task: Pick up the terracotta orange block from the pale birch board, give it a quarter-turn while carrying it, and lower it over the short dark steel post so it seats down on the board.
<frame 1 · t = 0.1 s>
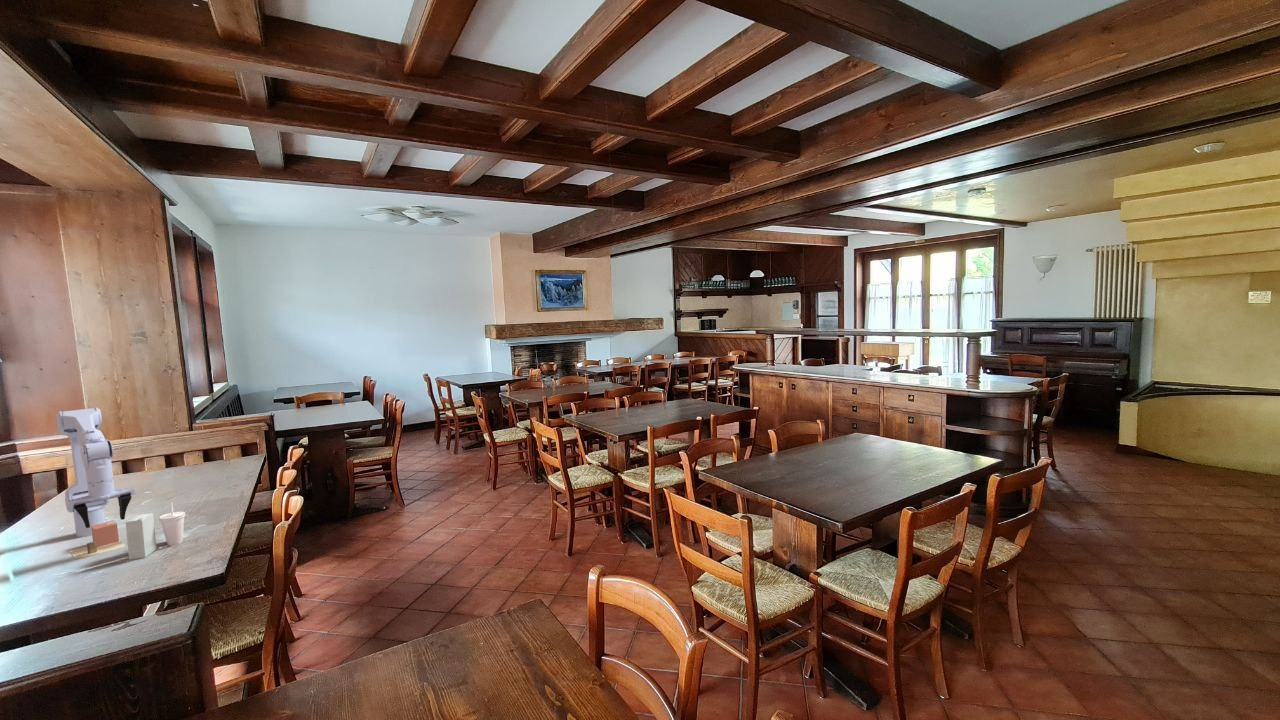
hand: (105, 522, 162), 10 cm above the table, fingers open, 7 cm apart
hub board: (97, 550, 166), on the table
smoothie: (175, 544, 169), on the table
terracotta orange block: (106, 542, 170), point 1 cm above the table, touching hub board
skincare box: (143, 555, 162), on the table
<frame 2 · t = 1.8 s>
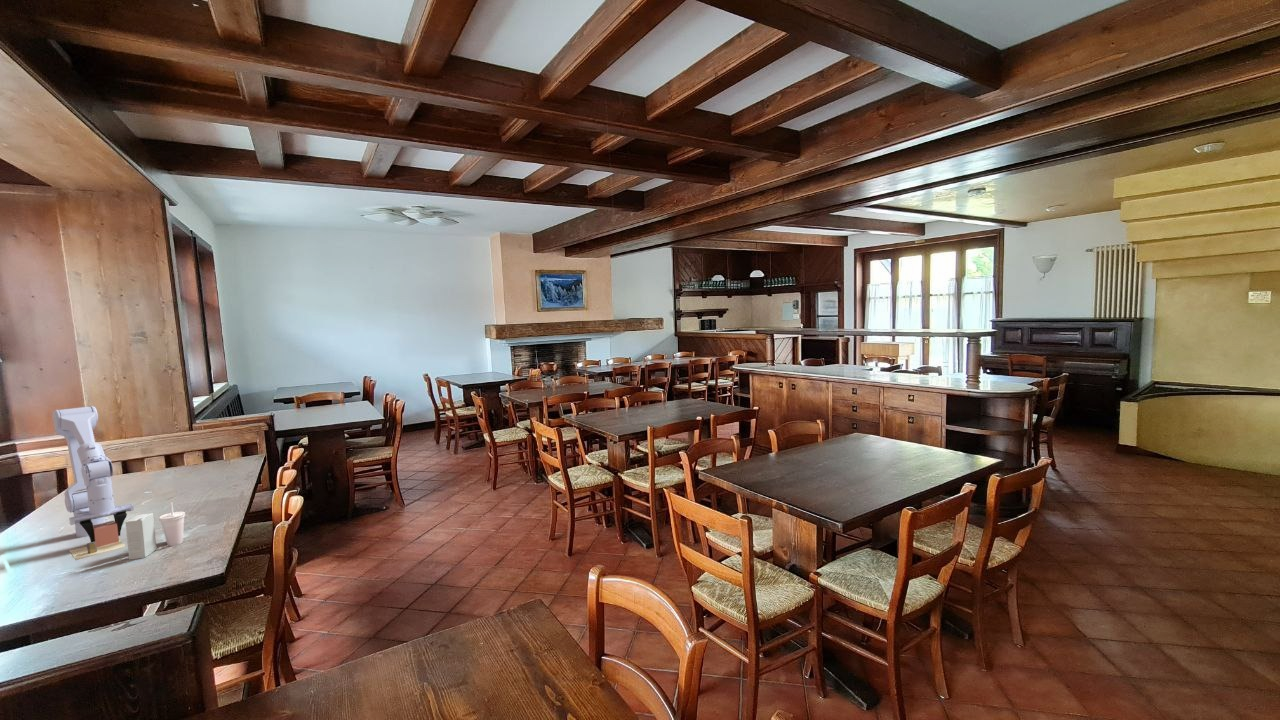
hand: (105, 538, 170), 2 cm above the table, fingers closed on terracotta orange block, 5 cm apart
terracotta orange block: (106, 542, 170), point 1 cm above the table, touching gripper, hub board
everything else where it was.
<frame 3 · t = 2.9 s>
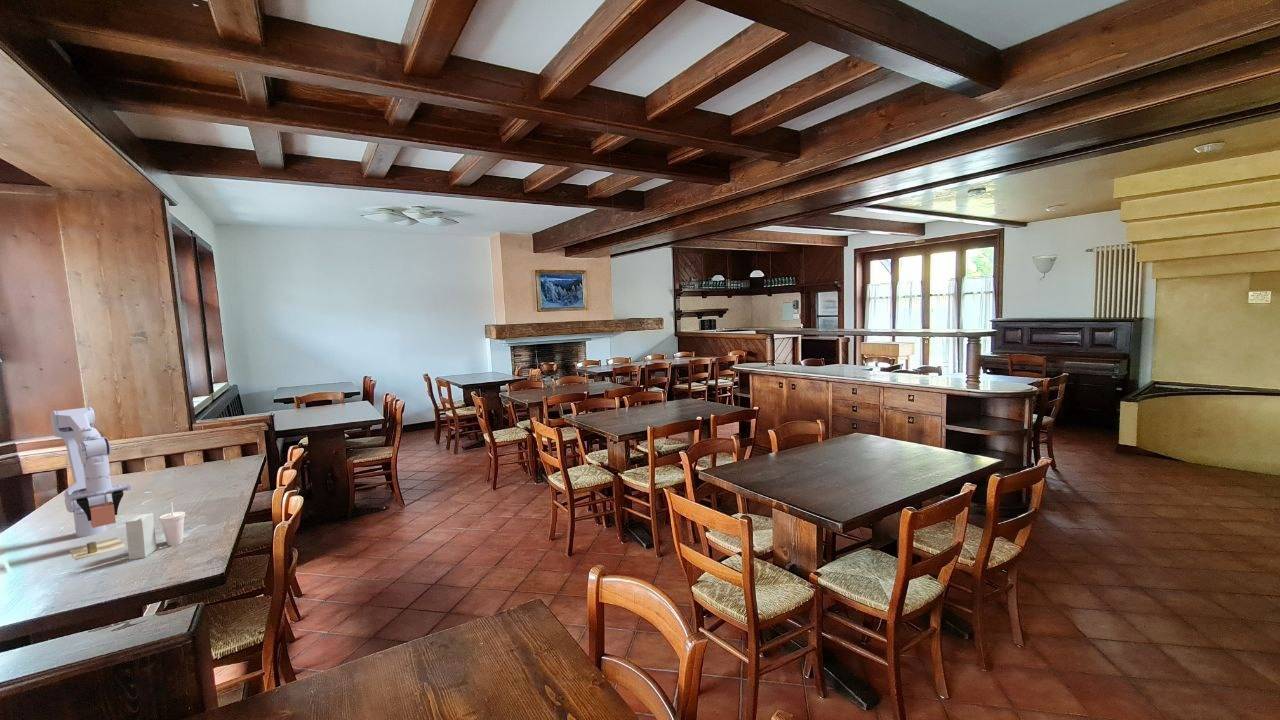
hand: (102, 517, 169), 9 cm above the table, fingers closed on terracotta orange block, 5 cm apart
terracotta orange block: (103, 523, 169), point 7 cm above the table, touching gripper
everything else where it was.
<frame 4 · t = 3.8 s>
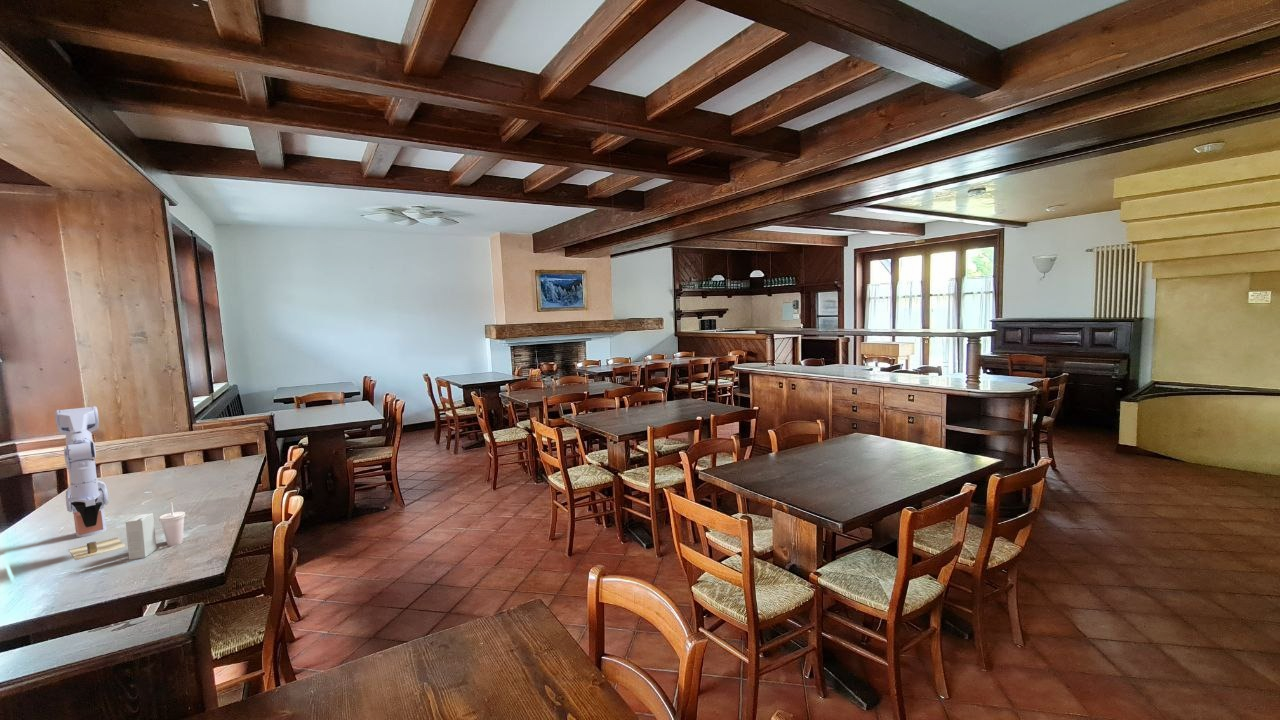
hand: (89, 524, 162), 10 cm above the table, fingers closed on terracotta orange block, 5 cm apart
terracotta orange block: (89, 530, 162), point 8 cm above the table, touching gripper
everything else where it was.
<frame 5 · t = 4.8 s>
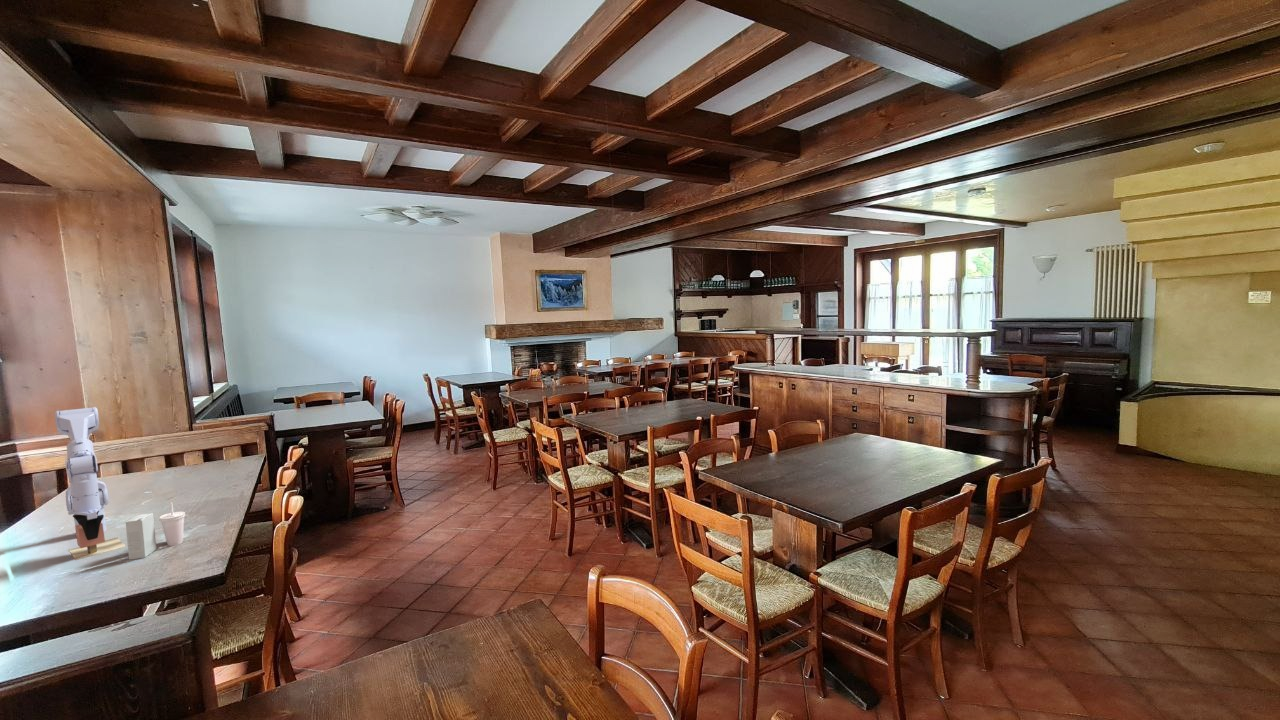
hand: (90, 536, 162), 6 cm above the table, fingers closed on terracotta orange block, 5 cm apart
terracotta orange block: (91, 543, 162), point 4 cm above the table, touching gripper
everything else where it was.
when the fingers open (3 cm above the table, at t = 5.8 s): terracotta orange block stays where it is, resting on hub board.
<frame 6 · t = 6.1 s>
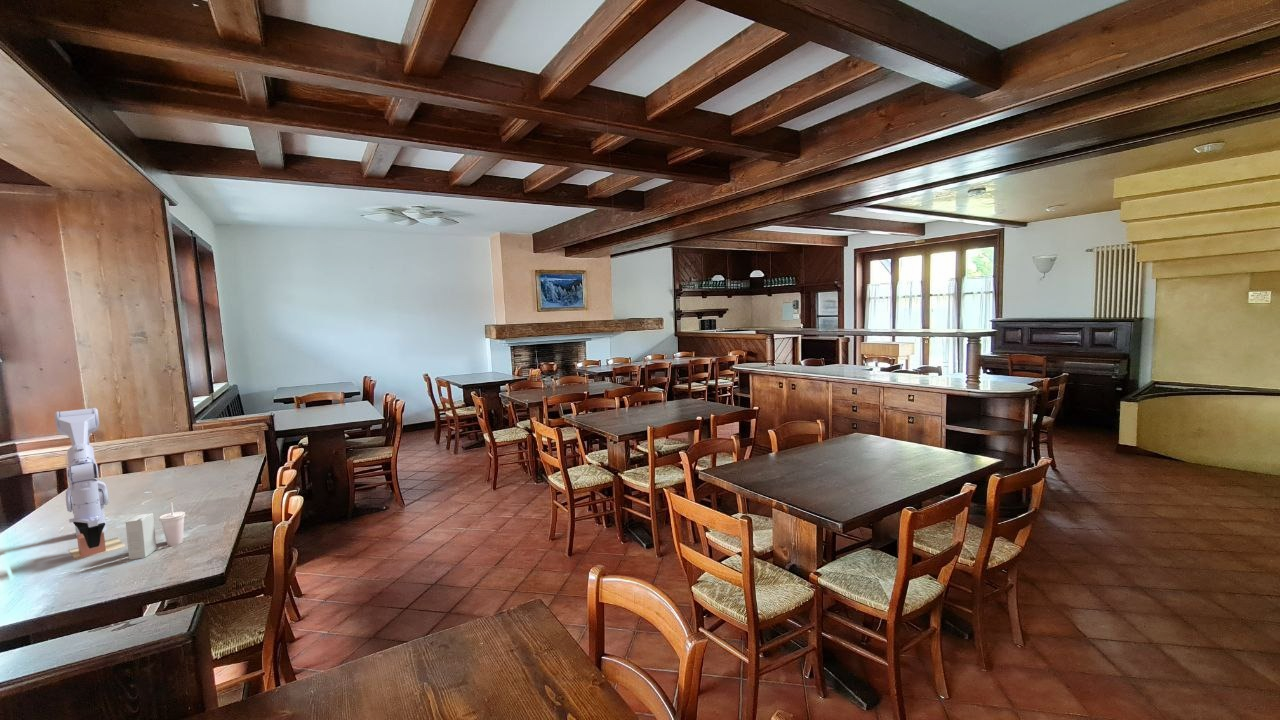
hand: (91, 544, 162), 3 cm above the table, fingers open, 7 cm apart
terracotta orange block: (92, 552, 163), point 1 cm above the table, touching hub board
everything else where it was.
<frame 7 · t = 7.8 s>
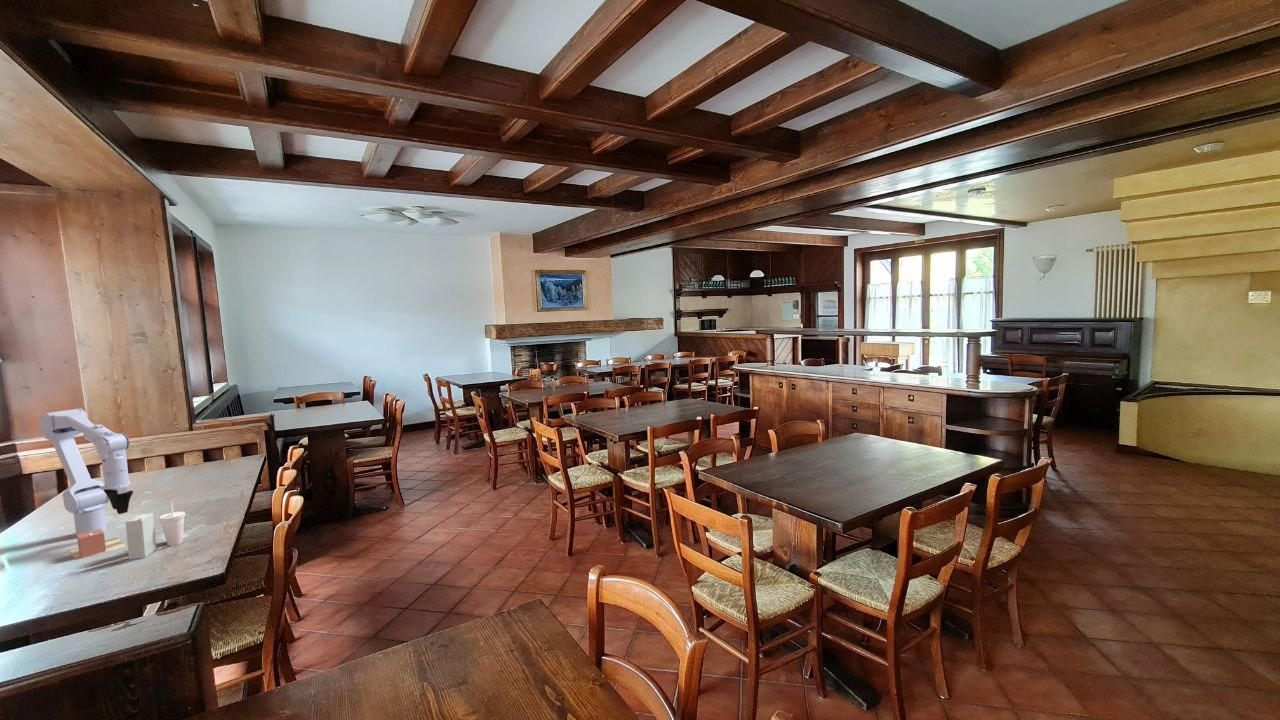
hand: (120, 510, 173), 10 cm above the table, fingers open, 7 cm apart
nothing on the table moved.
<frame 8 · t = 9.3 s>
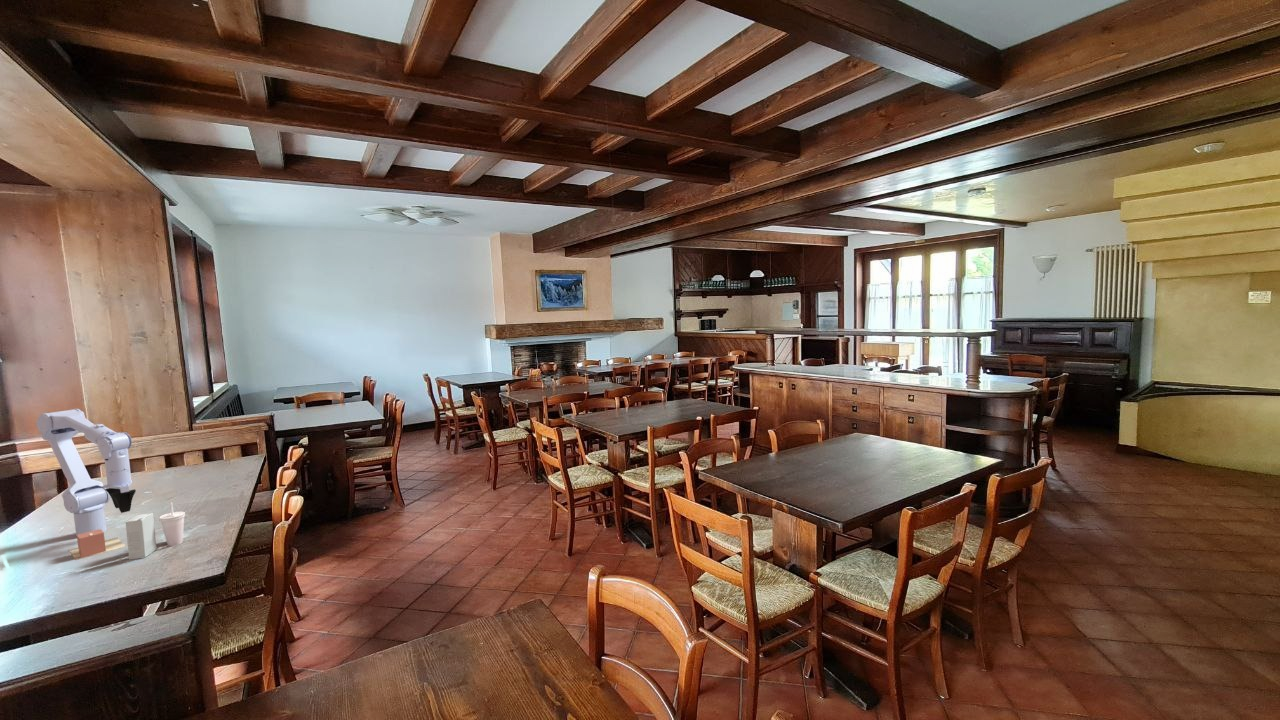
hand: (122, 509, 174), 10 cm above the table, fingers open, 7 cm apart
nothing on the table moved.
at the end: terracotta orange block 0.1 cm from the target spot on the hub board, point 0.8 cm above the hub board's base; terracotta orange block tilted 0°; the gripper is holding nothing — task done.
